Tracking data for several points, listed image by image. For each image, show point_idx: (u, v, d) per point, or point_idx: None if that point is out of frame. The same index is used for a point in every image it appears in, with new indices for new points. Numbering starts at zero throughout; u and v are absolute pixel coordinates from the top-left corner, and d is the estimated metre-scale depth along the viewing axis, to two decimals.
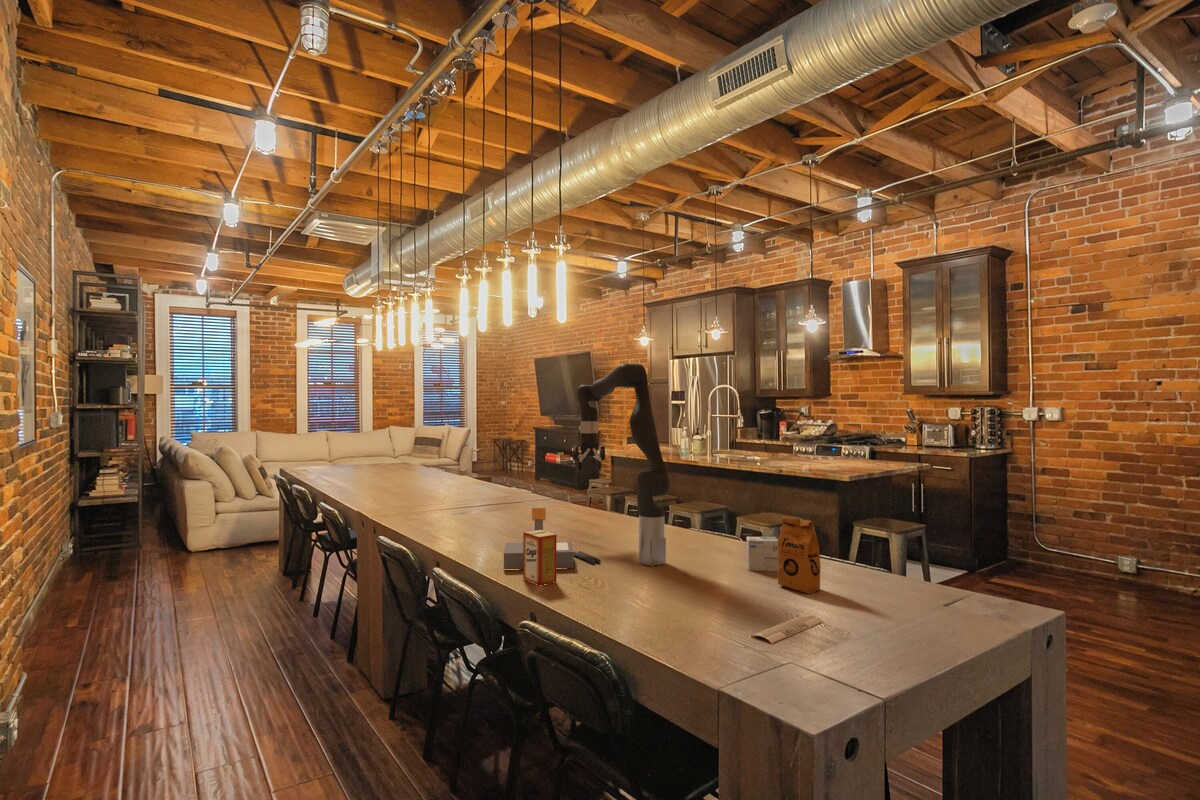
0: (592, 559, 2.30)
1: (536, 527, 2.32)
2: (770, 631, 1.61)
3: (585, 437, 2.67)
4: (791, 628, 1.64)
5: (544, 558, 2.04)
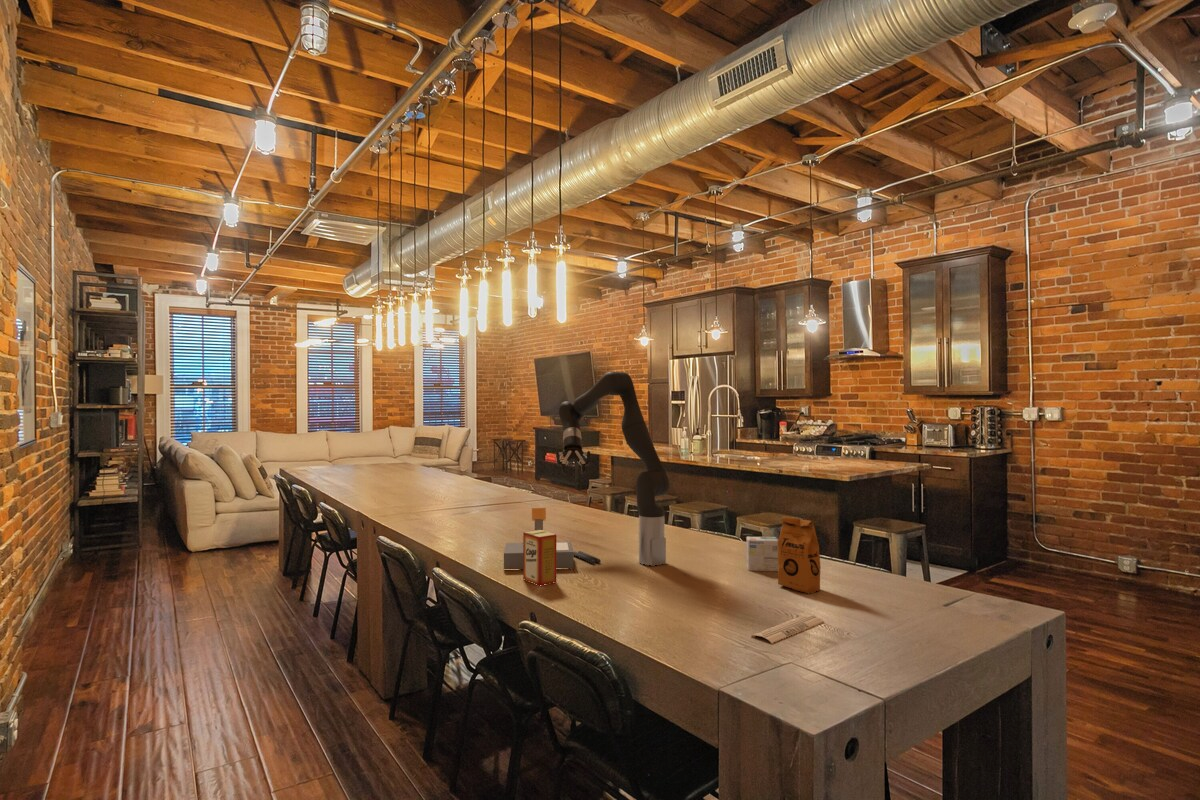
0: (592, 559, 2.30)
1: (536, 527, 2.32)
2: (770, 631, 1.61)
3: (565, 441, 2.56)
4: (791, 628, 1.63)
5: (544, 558, 2.04)
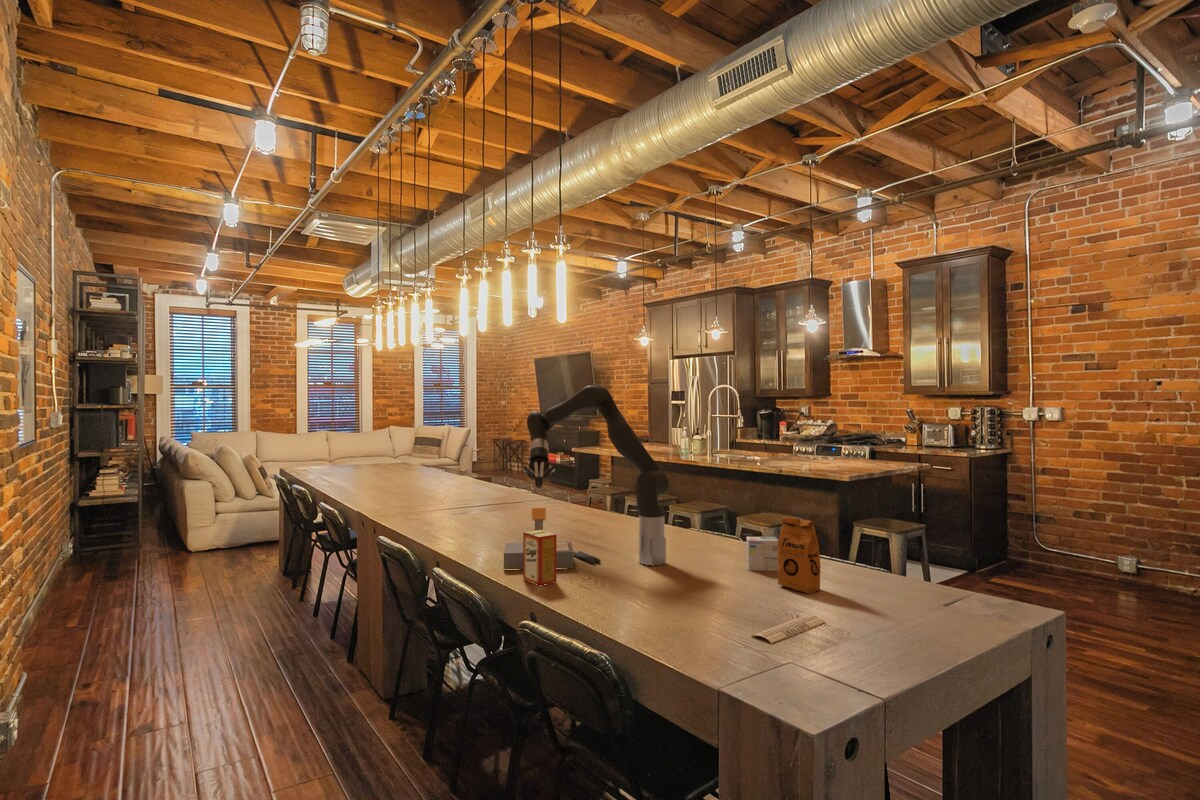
0: (592, 559, 2.30)
1: (536, 527, 2.32)
2: (771, 631, 1.61)
3: (531, 452, 2.54)
4: (792, 628, 1.63)
5: (544, 558, 2.04)
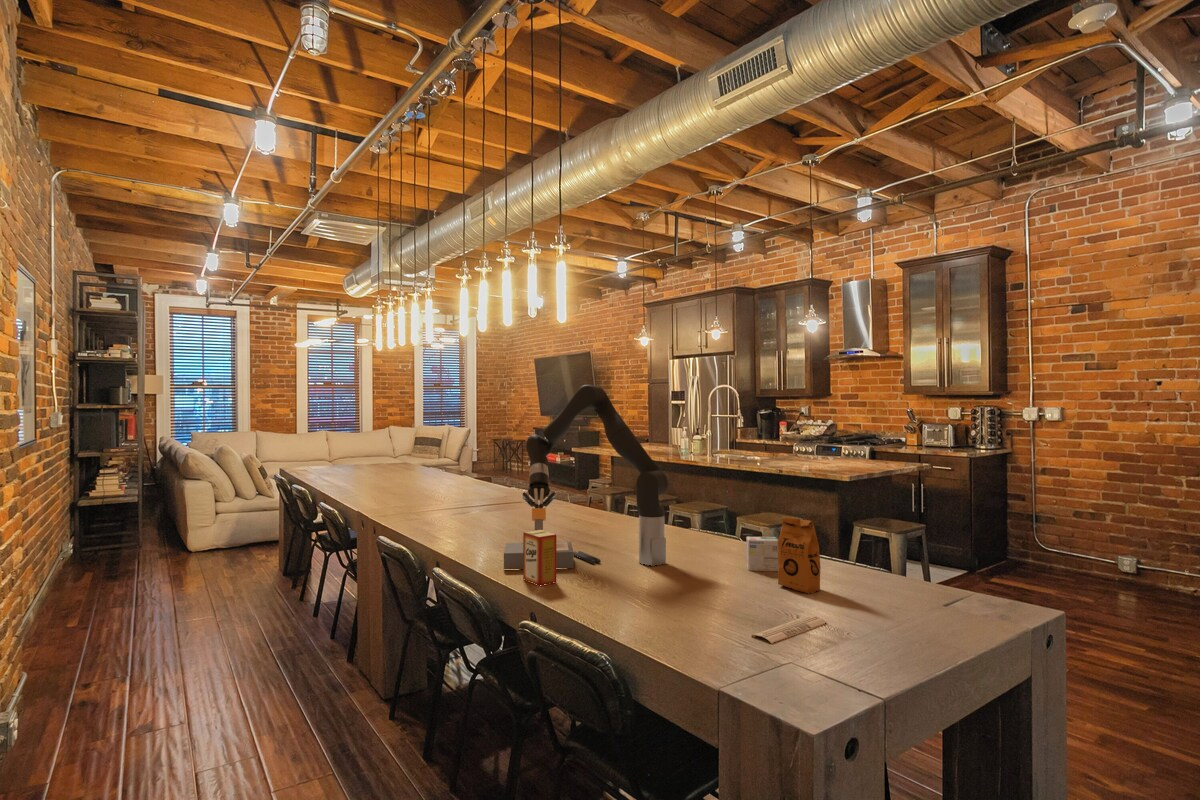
0: (592, 559, 2.30)
1: (536, 527, 2.32)
2: (771, 631, 1.61)
3: (531, 478, 2.46)
4: (793, 629, 1.63)
5: (544, 558, 2.04)
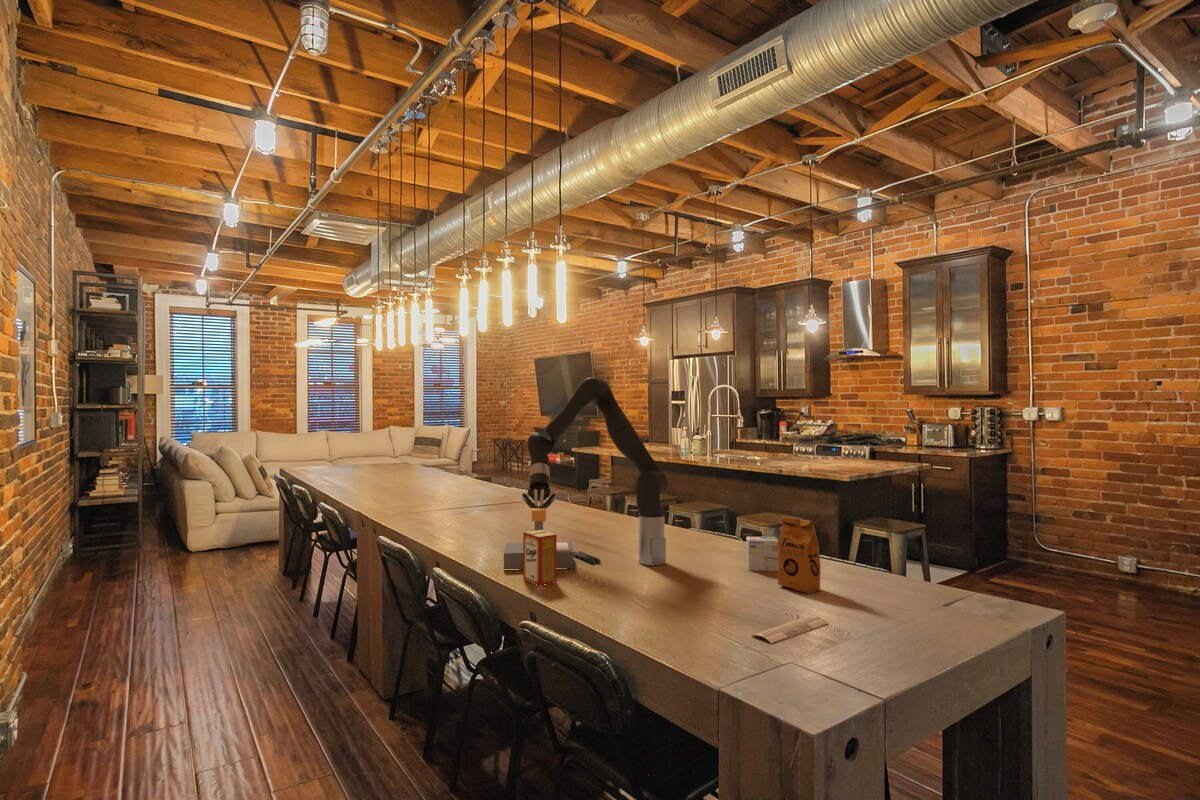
0: (592, 559, 2.30)
1: (536, 528, 2.28)
2: (771, 631, 1.61)
3: (531, 478, 2.39)
4: (793, 629, 1.63)
5: (544, 558, 2.04)
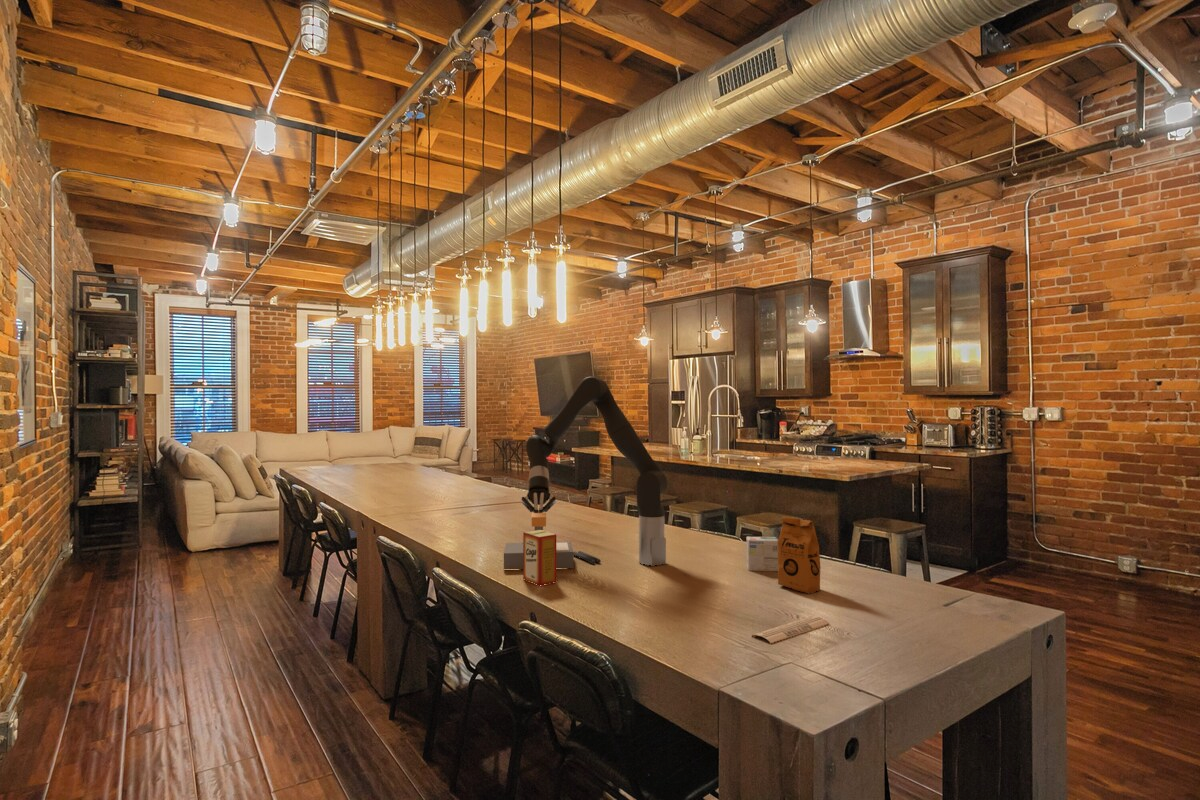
0: (592, 559, 2.30)
1: None
2: (771, 631, 1.61)
3: (530, 482, 2.35)
4: (794, 629, 1.63)
5: (544, 558, 2.04)
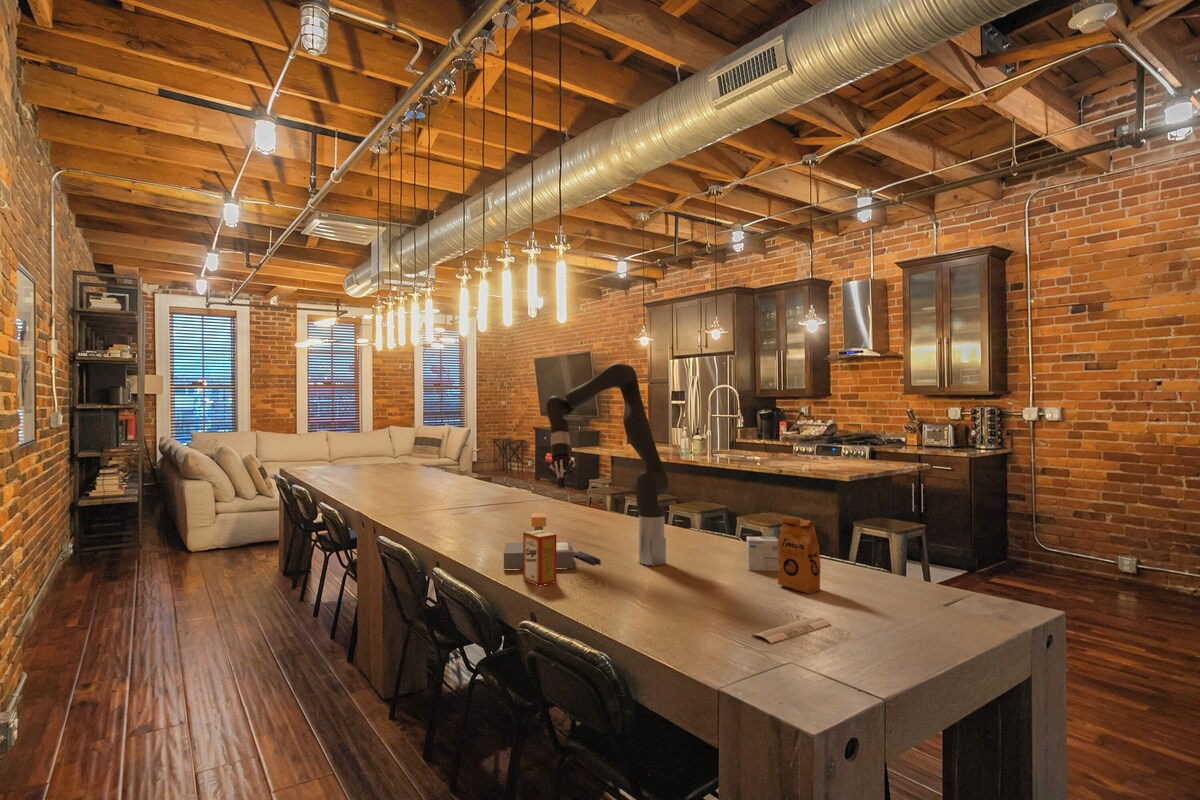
0: (592, 559, 2.30)
1: None
2: (772, 631, 1.61)
3: (551, 450, 2.51)
4: (794, 629, 1.63)
5: (544, 558, 2.04)
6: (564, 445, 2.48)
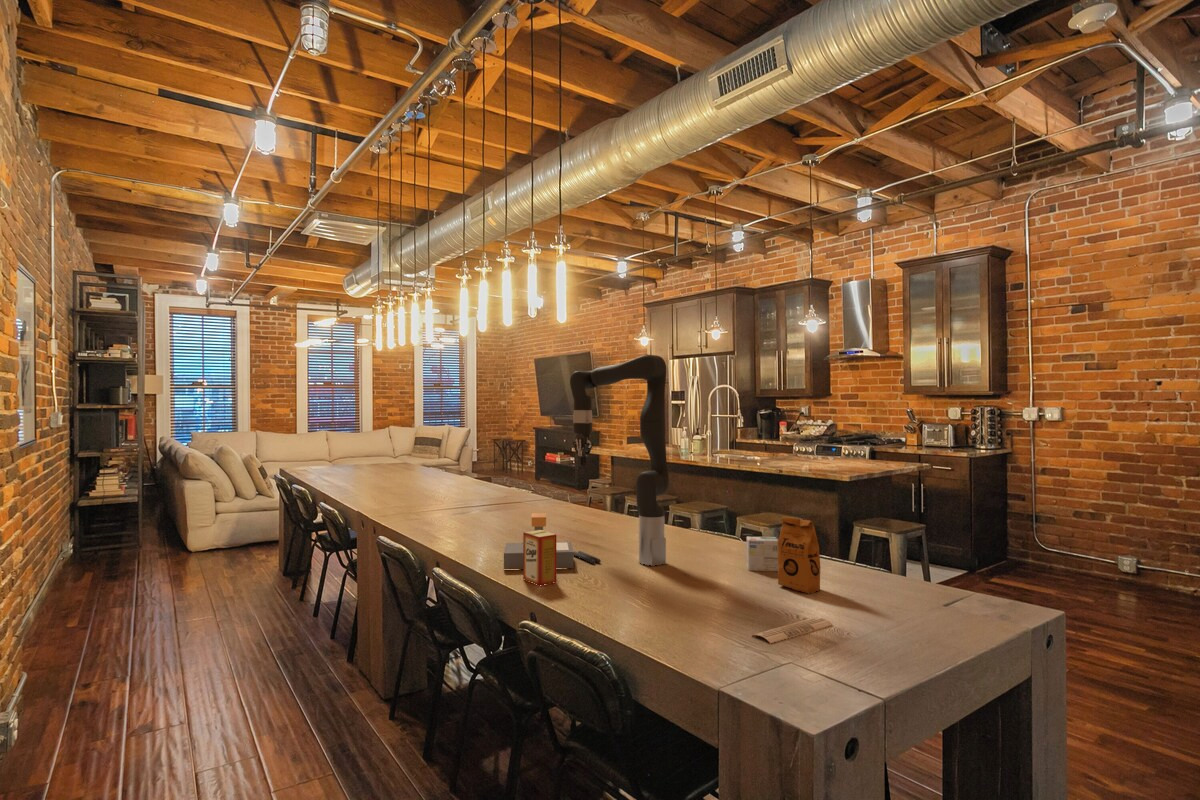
0: (592, 559, 2.30)
1: None
2: (772, 631, 1.61)
3: None
4: (795, 630, 1.62)
5: (544, 558, 2.04)
6: (582, 425, 2.48)
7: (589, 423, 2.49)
